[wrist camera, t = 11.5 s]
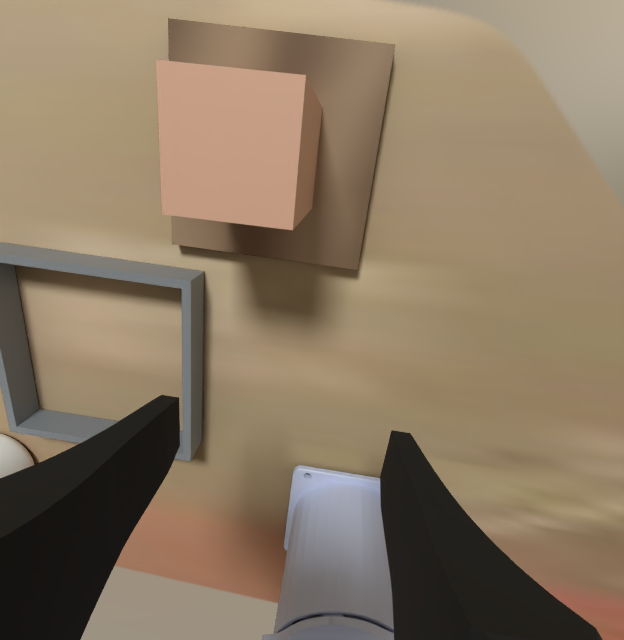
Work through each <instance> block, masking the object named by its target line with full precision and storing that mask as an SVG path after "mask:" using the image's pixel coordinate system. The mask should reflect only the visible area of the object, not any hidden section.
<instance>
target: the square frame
mask: <svg viewBox="0 0 624 640" xmlns="http://www.w3.org/2000/svg"><path fill="white" fill-rule="evenodd" d="M14 265H21V266H28V267H35V268H42V269H48V270H55V271H62V272H69V273H76V274H83V275H90V276H97V277H104V278H111V279H117V280H124V281H131V282H138V283H145V284H152V285H159V286H166V287H173V288H180V289H182V404H183V432H181V431H180V447H179V449H178V451H177V454H176V456H175V458H174V459H179V460H185V461H191V460H192V458H193V456H194V454H195V452H196V451H197V449H198V447H199V445H200V443H201V441H202V390H203V322H204V271H199V270H192V269H185V268H178V267H170V266H163V265H156V264H149V263H142V262H135V261H128V260H121V259H114V258H107V257H100V256H93V255H86V254H79V253H72V252H65V251H58V250H51V249H44V248H37V247H30V246H23V245H16V244H9V243H0V386H1V391H2V395H3V400H4V405H5V409H6V414H7V419H8V423H9V428H10V432H15V433H21V434H27V435H33V436H39V437H45V438H51V439H57V440H63V441H69V442H76V443H82V442H84V441H85V440H87V439H89V438H91V437H93V436H94V435H96V434H98V433H100V432H102V431H103V430H105V429H107V428H109V427H110V426H112V425H114V424H115V423H117V422H119V421H112V420H106V419H100V418H94V417H87V416H81V415H75V414H69V413H63V412H56V411H50V410H44V409H39V404H38V398H37V392H36V387H35V381H34V375H33V369H32V364H31V358H30V352H29V347H28V341H27V335H26V329H25V324H24V318H23V312H22V306H21V301H20V295H19V289H18V283H17V278H16V272H15V266H14Z"/></svg>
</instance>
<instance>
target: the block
mask: <svg viewBox="0 0 624 640" xmlns="http://www.w3.org/2000/svg"><path fill="white" fill-rule="evenodd" d="M156 68H157V93H158V119H159V144H160V169H161V195H162V214H163V215H171V216H180V217H188V218H196V219H204V220H212V221H221V222H229V223H237V224H245V225H253V226H262V227H270V228H278V229H286V230H293V229H294V228H295V227H296V226H297V225H298V224H299V223H300V222H301V220H302V219H303V218H304V217H305V216H306V215H307V214H308V213H309V211H310V210H311V209H312V205H313V195H314V185H315V175H316V165H317V156H318V146H319V136H320V126H321V116H322V106H321V104H320V102H319V100H318V98H317V96H316V94H315V92H314V90H313V88H312V86H311V84H310V82H309V80H308V78H307V76H306V75H300V74H291V73H281V72H271V71H261V70H252V69H242V68H232V67H223V66H213V65H203V64H193V63H184V62H174V61H164V60H156Z"/></svg>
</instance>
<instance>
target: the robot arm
mask: <svg viewBox="0 0 624 640" xmlns="http://www.w3.org/2000/svg"><path fill="white" fill-rule="evenodd" d="M179 447H180V424H179V398H178V397H171V396H165V395H161V396H159V397H157V398H156V399H154V400H152V401H151V402H149V403H147V404H146V405H144V406H143V407H141V408H140V409H138V410H136V411H135V412H133V413H132V414H130V415H128V416H127V417H125V418H124V419H122V420H120V421H119V422H117V423H115V424H114V425H112V426H110V427H109V428H107V429H105V430H103V431H102V432H100V433H98V434H96V435H94V436H93V437H91V438H89V439H87V440H85V441H84V442H82V443H80V444H78V445H76V446H74V447H72V448H70V449H68V450H66V451H64V452H62V453H60V454H58V455H56V456H53V457H51V458H49V459H47V460H45V461H42V462H40V463H38V464H35V465H33V466H30V467H28V468H25V469H23V470H20V471H18V472H15V473H13V474H10V475H8V476H5V477H2V478H0V640H80V639H81V637H82V634H83V632H84V630H85V628H86V625H87V623H88V621H89V619H90V616H91V614H92V612H93V610H94V608H95V606H96V603H97V601H98V599H99V597H100V595H101V592H102V590H103V588H104V586H105V584H106V582H107V580H108V578H109V575H110V573H111V571H112V569H113V567H114V565H115V563H116V561H117V559H118V557H119V555H120V553H121V551H122V549H123V547H124V545H125V543H126V542H127V540H128V538H129V536H130V535H131V533H132V531H133V530H134V528H135V526H136V525H137V523H138V521H139V520H140V518H141V516H142V515H143V513H144V512H145V510H146V508H147V507H148V505H149V503H150V502H151V500H152V498H153V497H154V495H155V494H156V492H157V490H158V489H159V487H160V485H161V484H162V482H163V480H164V479H165V477H166V475H167V473H168V471H169V469H170V467H171V465H172V463H173V461H174V458H175V456H176V454H177V451H178V449H179ZM305 473H309V474H310V475H307V474H305ZM284 549H285V550H286V551H287V555H286V561H285V567H284V573H283V579H282V585H281V591H280V597H279V603H278V609H277V615H276V622H275V628H274V634H270V635H263V636H262V640H602V638H601V636H600V635H599V633H598V631H597V630H596V628H595V627H593V626H592V625H591V624H589V623H588V622H587V621H585V620H584V619H583V618H581V617H580V616H579V615H577V614H576V613H575V612H573V611H572V610H571V609H570V608H568V607H567V606H566V605H564V604H563V603H562V602H560V601H559V600H558V599H556V598H555V597H554V596H552V595H551V594H550V593H549V592H548V591H546V590H545V589H544V588H543V587H542V586H540V585H539V584H538V583H537V582H536V581H534V580H533V579H532V578H531V577H530V576H529V575H527V574H526V573H525V572H524V571H523V570H522V569H521V568H520V567H518V566H517V565H516V564H515V563H514V562H513V561H512V560H511V559H510V558H509V557H508V556H507V555H506V554H505V553H504V552H502V551H501V550H500V549H499V548H498V547H497V546H496V545H495V544H494V543H493V542H492V541H491V540H490V539H489V538H488V537H487V536H486V535H485V533H484V532H483V531H482V530H481V529H480V528H479V527H478V526H477V525H476V524H475V522H474V521H473V520H472V519H471V518H470V517H469V516H468V515H467V513H466V512H465V511H464V510H463V509H462V508H461V506H460V505H459V504H458V502H457V501H456V500H455V499H454V497H453V496H452V495H451V493H450V492H449V491H448V489H447V488H446V487H445V485H444V484H443V482H442V481H441V480H440V478H439V477H438V475H437V474H436V472H435V471H434V469H433V468H432V466H431V465H430V463H429V462H428V460H427V459H426V457H425V456H424V454H423V453H422V451H421V449H420V448H419V446H418V445H417V443H416V441H415V440H414V438H413V437H412V435H411V434H410V433H405V432H398V431H391V435H390V439H389V443H388V447H387V451H386V456H385V460H384V464H383V468H382V472H381V476H380V478H376V477H369V476H363V475H357V474H351V473H345V472H339V471H333V470H326V469H320V468H314V467H308V466H302V465H299V466H296V467H295V468H294V471H293V477H292V485H291V492H290V500H289V508H288V516H287V523H286V531H285V539H284Z"/></svg>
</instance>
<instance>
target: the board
mask: <svg viewBox="0 0 624 640" xmlns="http://www.w3.org/2000/svg"><path fill="white" fill-rule="evenodd" d="M168 35H169V61H174V62H184V63H193V64H203V65H213V66H223V67H232V68H242V69H252V70H261V71H271V72H281V73H291V74H300V75H306V76H307V78H308V80H309V82H310V84H311V86H312V88H313V90H314V92H315V94H316V96H317V98H318V100H319V102H320V104H321V106H322V116H321V126H320V136H319V146H318V156H317V165H316V175H315V185H314V195H313V205H312V209H311V210H310V211H309V213H308V214H307V215H306V216H305V217H304V218H303V219H302V220H301V222H300V223H299V224H298V225H297V226H296V227H295V228H294V229H293V230H286V229H278V228H270V227H262V226H253V225H245V224H237V223H229V222H221V221H212V220H204V219H196V218H188V217H180V216H172V244H175V245H182V246H189V247H196V248H203V249H210V250H217V251H224V252H232V253H239V254H246V255H253V256H260V257H267V258H274V259H282V260H289V261H296V262H303V263H310V264H317V265H324V266H332V267H339V268H346V269H353V270H358V264H359V258H360V252H361V246H362V240H363V234H364V228H365V222H366V216H367V210H368V204H369V198H370V192H371V186H372V181H373V175H374V169H375V163H376V157H377V151H378V145H379V139H380V133H381V127H382V121H383V115H384V109H385V103H386V97H387V91H388V85H389V79H390V73H391V67H392V61H393V55H394V49H395V44H386V43H378V42H369V41H360V40H352V39H343V38H334V37H325V36H317V35H308V34H299V33H291V32H282V31H273V30H265V29H256V28H247V27H239V26H230V25H221V24H212V23H204V22H195V21H186V20H178V19H169V18H168Z"/></svg>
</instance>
